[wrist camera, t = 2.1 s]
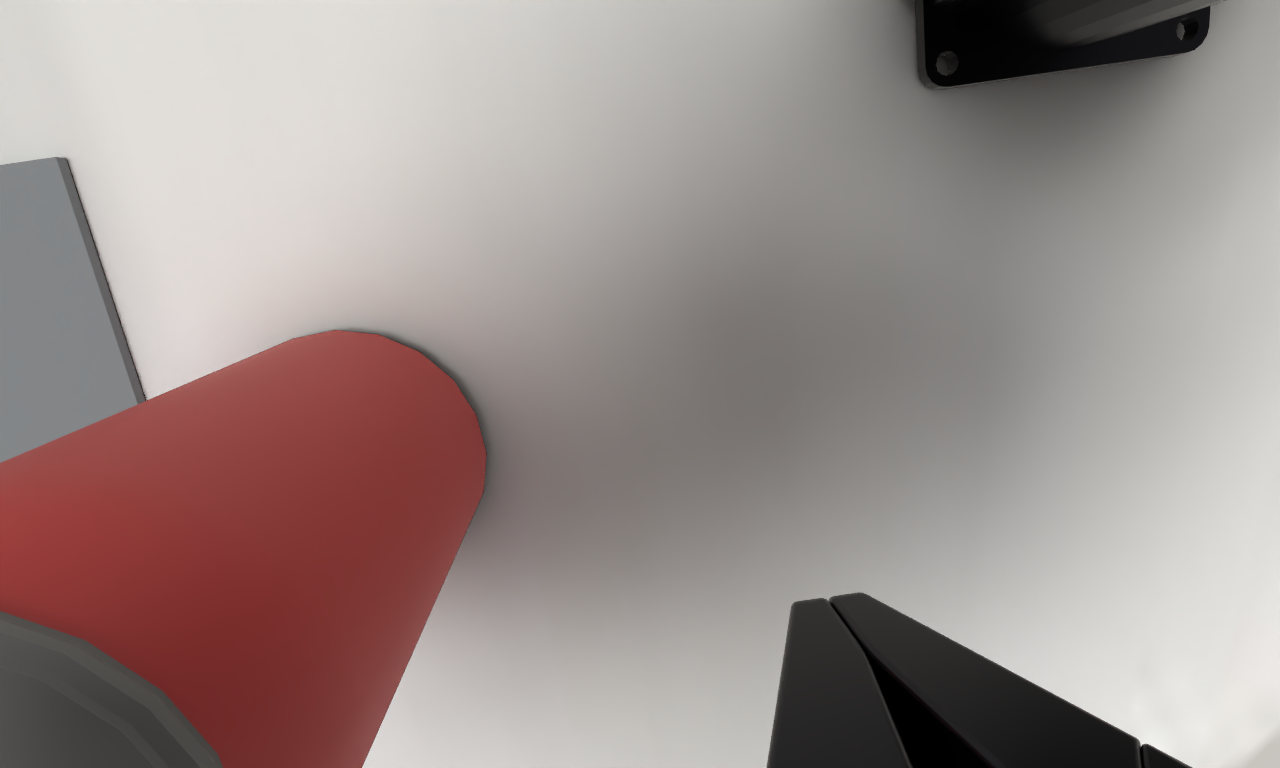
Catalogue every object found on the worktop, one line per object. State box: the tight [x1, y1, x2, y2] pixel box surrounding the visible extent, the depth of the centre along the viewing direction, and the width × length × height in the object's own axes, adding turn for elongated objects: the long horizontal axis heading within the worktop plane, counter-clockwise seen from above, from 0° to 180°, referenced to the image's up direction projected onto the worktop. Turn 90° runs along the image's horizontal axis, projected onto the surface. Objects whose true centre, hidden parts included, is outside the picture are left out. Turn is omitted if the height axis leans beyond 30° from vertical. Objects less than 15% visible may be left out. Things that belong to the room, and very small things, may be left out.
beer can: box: [0, 330, 487, 768], centre depth 13 cm, size 7×7×12 cm
